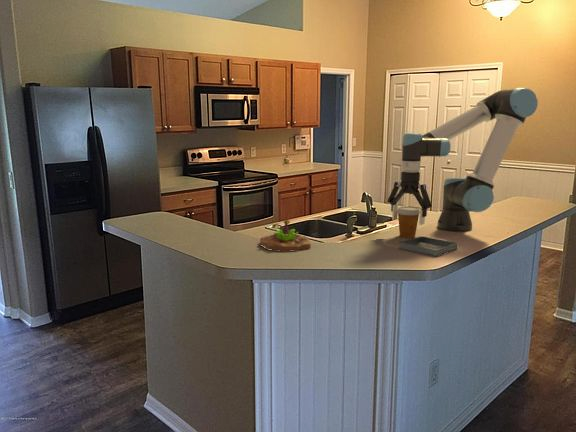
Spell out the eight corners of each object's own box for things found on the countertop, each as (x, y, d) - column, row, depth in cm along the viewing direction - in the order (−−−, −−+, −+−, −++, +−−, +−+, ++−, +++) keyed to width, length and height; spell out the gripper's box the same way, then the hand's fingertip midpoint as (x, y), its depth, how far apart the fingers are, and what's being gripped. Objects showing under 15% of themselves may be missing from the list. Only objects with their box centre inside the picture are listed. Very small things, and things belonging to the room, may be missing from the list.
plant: (266, 254, 178) (266, 224, 176) (256, 241, 196) (255, 214, 194) (318, 250, 183) (318, 221, 181) (302, 238, 201) (303, 212, 199)
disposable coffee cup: (419, 234, 207) (420, 207, 204) (418, 239, 198) (420, 211, 195) (396, 233, 209) (397, 205, 207) (395, 238, 200) (396, 209, 198)
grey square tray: (421, 241, 194) (421, 235, 194) (457, 249, 183) (457, 242, 182) (399, 248, 184) (399, 242, 183) (436, 257, 172) (436, 250, 172)
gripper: (380, 169, 204) (378, 218, 208) (432, 174, 187) (429, 227, 191) (390, 168, 209) (388, 216, 214) (442, 172, 192) (439, 225, 196)
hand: (407, 222), depth 202 cm, fingers open, 12 cm apart
